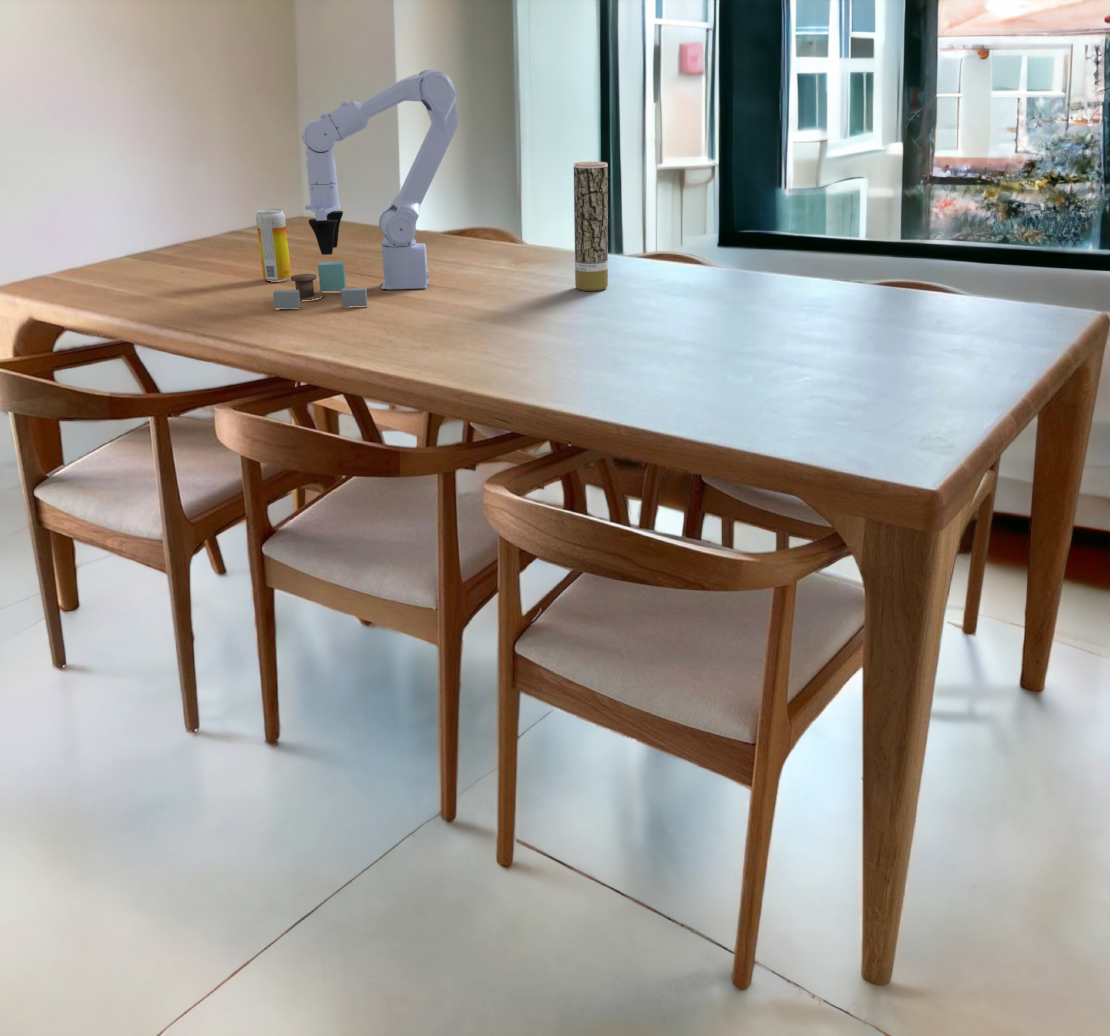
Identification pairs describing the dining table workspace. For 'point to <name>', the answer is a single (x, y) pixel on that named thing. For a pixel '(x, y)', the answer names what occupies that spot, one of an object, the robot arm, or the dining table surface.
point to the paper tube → (591, 225)
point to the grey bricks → (293, 301)
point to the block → (331, 276)
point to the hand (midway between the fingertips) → (329, 250)
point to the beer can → (273, 244)
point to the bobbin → (305, 286)
